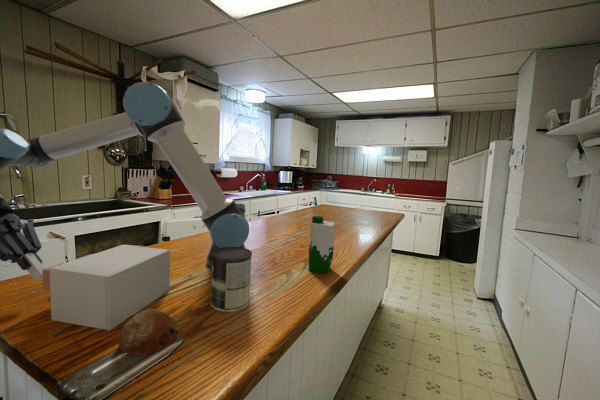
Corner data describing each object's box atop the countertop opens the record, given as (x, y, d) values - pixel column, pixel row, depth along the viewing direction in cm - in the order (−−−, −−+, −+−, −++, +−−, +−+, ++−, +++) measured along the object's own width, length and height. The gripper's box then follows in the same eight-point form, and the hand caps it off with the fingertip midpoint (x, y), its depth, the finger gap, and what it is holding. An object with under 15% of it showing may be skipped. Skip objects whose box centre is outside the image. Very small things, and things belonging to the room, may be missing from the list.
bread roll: (145, 341, 60) (129, 310, 59) (188, 323, 61) (172, 292, 60) (119, 374, 51) (99, 338, 50) (171, 353, 51) (152, 316, 50)
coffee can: (204, 311, 68) (205, 256, 66) (218, 292, 78) (219, 245, 76) (244, 314, 67) (247, 259, 66) (253, 295, 78) (255, 247, 76)
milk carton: (309, 264, 106) (313, 214, 104) (332, 267, 105) (336, 216, 103) (305, 272, 98) (309, 218, 96) (330, 275, 96) (335, 220, 94)
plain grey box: (169, 290, 77) (169, 250, 76) (109, 330, 58) (108, 276, 56) (123, 283, 80) (123, 244, 78) (51, 319, 60) (49, 268, 59)
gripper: (7, 210, 75) (60, 275, 74) (-62, 218, 62) (0, 297, 61) (22, 193, 73) (76, 259, 72) (-46, 197, 60) (18, 277, 60)
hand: (41, 276), depth 67 cm, fingers closed
